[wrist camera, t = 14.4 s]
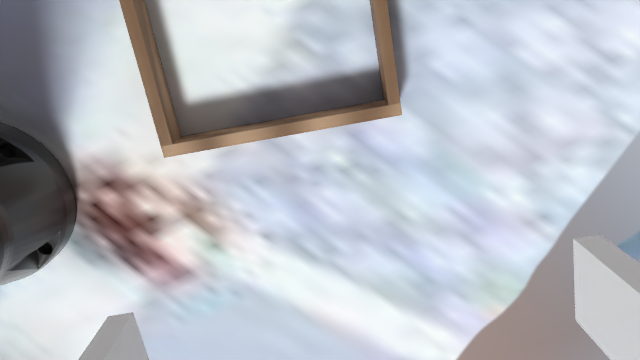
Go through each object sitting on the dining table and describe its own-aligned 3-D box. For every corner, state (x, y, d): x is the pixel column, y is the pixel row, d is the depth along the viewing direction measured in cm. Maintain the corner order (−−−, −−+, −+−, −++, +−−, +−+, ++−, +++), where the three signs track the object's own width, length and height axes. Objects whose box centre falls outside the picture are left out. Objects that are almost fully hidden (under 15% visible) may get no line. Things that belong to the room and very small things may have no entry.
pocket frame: (173, 149, 46) (164, 157, 43) (104, -100, 40) (88, -110, 37) (396, 108, 45) (401, 114, 42) (361, -152, 39) (365, -166, 36)
